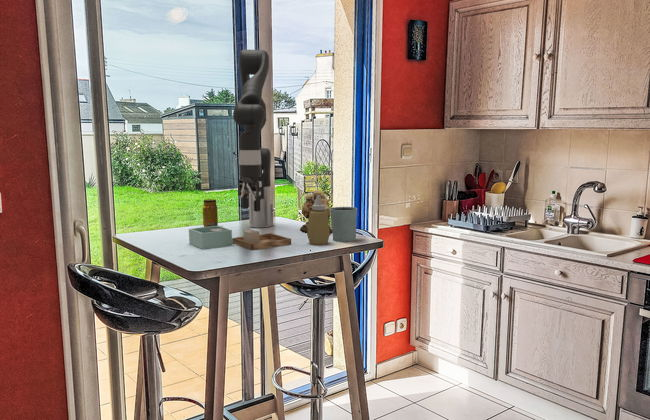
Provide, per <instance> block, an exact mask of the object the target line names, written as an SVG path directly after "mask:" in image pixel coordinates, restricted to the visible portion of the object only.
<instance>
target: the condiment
mask: <svg viewBox="0 0 650 420" xmlns="http://www.w3.org/2000/svg"><path fill="white" fill-rule="evenodd" d="M218 219H219V218H218V205H217V199H214V198H207V199H204V200H203V206H202V225H203V226H204V227H211V226H220V227H224V225H219V222H218V221H219V220H218ZM203 226H202V227H203Z"/></svg>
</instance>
